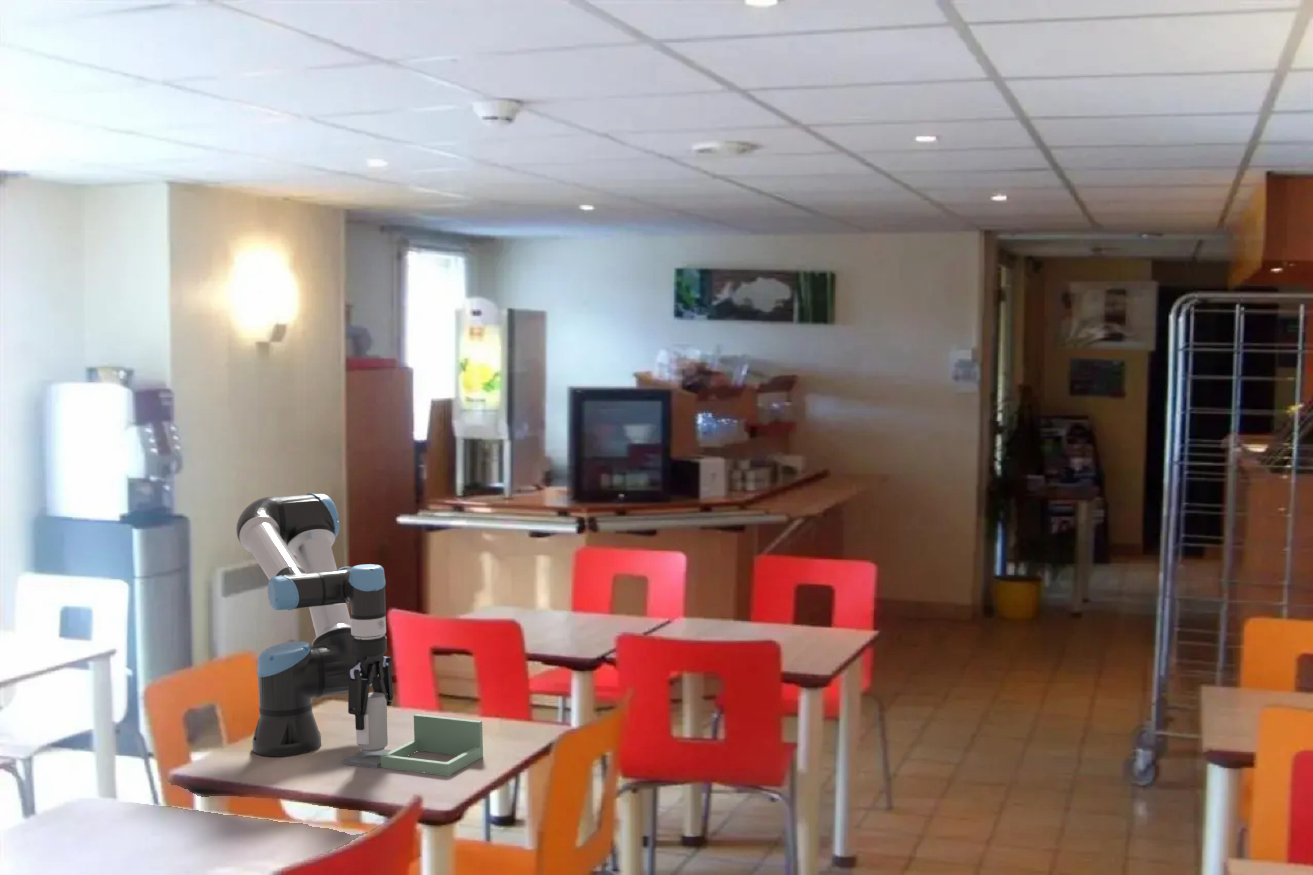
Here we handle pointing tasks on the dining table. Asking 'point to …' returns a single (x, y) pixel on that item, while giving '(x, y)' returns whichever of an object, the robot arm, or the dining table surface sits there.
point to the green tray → (438, 745)
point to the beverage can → (376, 723)
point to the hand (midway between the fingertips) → (372, 739)
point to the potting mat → (366, 759)
